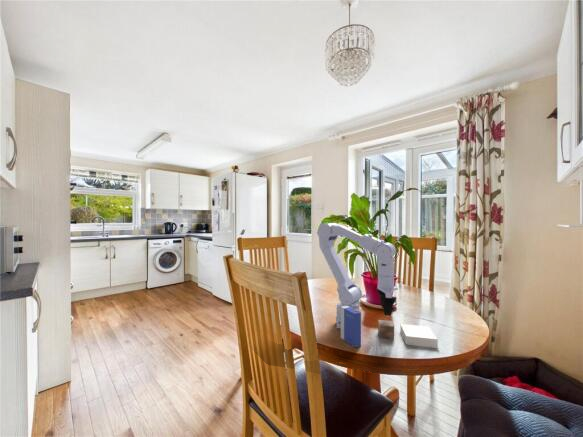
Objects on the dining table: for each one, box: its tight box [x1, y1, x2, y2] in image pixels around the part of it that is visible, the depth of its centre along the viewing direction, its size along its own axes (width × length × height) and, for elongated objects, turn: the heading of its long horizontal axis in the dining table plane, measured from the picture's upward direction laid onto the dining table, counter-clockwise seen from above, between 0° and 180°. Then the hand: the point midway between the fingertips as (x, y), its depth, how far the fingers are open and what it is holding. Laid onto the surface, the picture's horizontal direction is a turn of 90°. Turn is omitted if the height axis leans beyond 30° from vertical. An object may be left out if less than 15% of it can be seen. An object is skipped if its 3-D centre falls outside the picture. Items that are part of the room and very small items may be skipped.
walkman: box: [340, 306, 362, 348], centre depth 88 cm, size 8×3×12 cm, turn 26°
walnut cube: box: [377, 319, 395, 341], centre depth 92 cm, size 5×5×5 cm
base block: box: [399, 323, 439, 349], centre depth 90 cm, size 10×10×3 cm
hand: (386, 311), depth 92 cm, fingers open, 7 cm apart
